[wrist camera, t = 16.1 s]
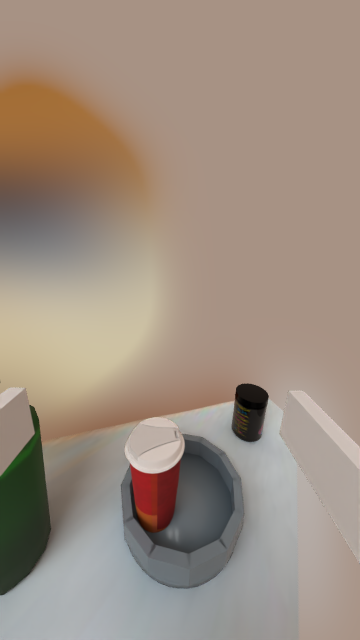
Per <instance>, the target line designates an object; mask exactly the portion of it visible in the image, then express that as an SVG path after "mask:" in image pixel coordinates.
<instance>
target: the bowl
mask: <svg viewBox="0 0 360 640" xmlns="http://www.w3.org/2000/svg"><path fill="white" fill-rule="evenodd" d="M182 436H183V438H184V443H185V447H184V453H183V455H182V457H181V462H180V471H179V482H178V488H177V495H176V503H175V510H174V515H173V518H172V520H171V522H170V524H169V525H168V526H167V527H166V528H165V529H164V530H162V531H160V532H157V533H151V532H148V531H146V530H145V529H144V528H143V527H142V526H141V525H140V523H139V520H138V517H137V512H136V505H135V498H134V491H133V483H132V476H131V468H130V466H129V468H128V471H127V473H126V475H125V478H124V480H123V482H122V484H121V493H122V508H123V522H124V535H125V540H126V542H127V544H128V546H129V549H130V551H131V553H132V555H133V557H134V559H135V560H136V562H137V563H138V565H139V566H140V567H141V568H142V570H143V571H144V572H145V573H146V574H148V575H149V576H150V577H151V578H153V579H154V580H156V581H157V582H159V583H161V584H163V585H166V586H168V587H173V588H192V587H197V586H200V585H202V584H204V583H207V582H208V581H210V580H211V579H213V578H214V577H215V576H216V575H217V574H218V573H219V572H220V571H221V570H222V569H223V568H224V567H225V566H226V564H227V563H228V561H229V559H230V557H231V555H232V553H233V551H234V548H235V545H236V542H237V539H238V536H239V534H240V532H241V529H242V523H243V518H244V507H243V497H242V488H241V478H240V477H239V475H238V473H237V472H236V470H235V469H234V467H233V465H232V464H231V462H230V460H229V459H228V457H227V456H226V454H225V452H223V451H222V450H220V449H219V448H217V447H216V446H214V445H213V444H211V443H210V442H209V441H207V440H206V439H204V438H203V437H198V436H192V435H187V434H182Z"/></svg>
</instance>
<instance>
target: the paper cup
mask: <svg viewBox="0 0 360 640" xmlns="http://www.w3.org/2000/svg"><path fill="white" fill-rule="evenodd" d="M184 447H185V443H184V438H183V436H182V434H181V432H180V431H179V428H178V426H177V425H176V424H175V423H174V422H172V421H171V420H169V419H166V418H162V417H153V418H149V419H146V420H143V421H142V422H140V423H139V424H138V425H137V426H136V427H135V428H134V429H133V431H132V433H131V434H130V436H129V437H128V440H127V442H126V443H125V456H126V458H127V459H128V461H129V462H130V468H131V476H132V483H133V491H134V498H135V505H136V512H137V517H138V520H139V523H140V525H141V526H142V527H143V528H144V529H145V530H146V531H148V532H151V533H157V532H160V531H162V530H164V529H165V528H166V527H167V526H168V525H169V524H170V522H171V520H172V518H173V515H174V510H175V503H176V495H177V488H178V482H179V471H180V462H181V457H182V455H183V453H184Z"/></svg>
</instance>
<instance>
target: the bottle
mask: <svg viewBox="0 0 360 640" xmlns="http://www.w3.org/2000/svg"><path fill="white" fill-rule="evenodd" d="M29 407H30V412H31V417H32V422H33V427H34V432H35V434H34V435H33V436H32V437H31V439H30V440H29V441H28V442H27V444H26V445H25V446H24V447H23V449H22V450H21V451H20V452H19V454H18V455H17V456H16V457H15V459H14V460H13V461H12V462H11V464H10V465H9V466H8V467H7V469H6V470H5V471H4V472H3V474H2V475H1V476H0V595H3V594H5V593H6V592H7V591H9V590H10V589H11V588H12V587H13V586H15V585H16V584H17V583H18V582H19V581H21V580H22V579H23V578H24V577H25V576H27V575H28V574H29V572H30V571H31V569H32V568H33V566H34V565H35V564H36V562H37V561H38V559H39V558H40V556H41V555H42V553H43V552H44V550H45V548H46V544H47V540H48V537H49V533H50V530H51V526H50V517H49V508H48V498H47V489H46V480H45V471H44V462H43V453H42V444H41V435H40V425H39V419H38V416H37V413H36V411H35V408H34V407H33V406H31V405H29Z"/></svg>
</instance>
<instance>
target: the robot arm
mask: <svg viewBox="0 0 360 640" xmlns="http://www.w3.org/2000/svg"><path fill="white" fill-rule="evenodd" d="M34 434H35V432H34V427H33V422H32V417H31V412H30V407H29V403H28V398H27V393H26V388H8V389H7V390H6V391H4V392H3V393H2V394H0V476H1V475H2V474H3V472H4V471H5V470H6V469H7V467H8V466H9V465H10V464H11V462H12V461H13V460H14V459H15V457H16V456H17V455H18V454H19V452H20V451H21V450H22V449H23V447H24V446H25V445H26V444H27V442H28V441H29V440H30V439H31V437H32V436H33V435H34ZM279 434H280V435H281V437H282V439H283V440H284V442H285V444H286V445H287V447H288V448H289V450H290V452H291V453H292V455H293V457H294V458H295V460H296V461H297V463H298V465H299V466H300V468H301V470H302V471H303V473H304V474H305V476H306V478H307V479H308V481H309V482H310V484H311V486H312V487H313V489H314V491H315V492H316V494H317V496H318V497H319V499H320V500H321V502H322V504H323V505H324V507H325V508H326V510H327V511H328V513H329V515H330V517H331V518H332V520H333V522H334V523H335V525H336V526H337V528H338V530H339V531H340V533H341V534H342V536H343V537H344V539H345V541H346V543H347V544H348V546H349V547H350V549H351V551H352V552H353V554H354V556H355V557H356V559H357V561H358V562H359V564H360V447H359V446H358V445H357V444H356V443H355V442H354V441H353V440H352V439H351V438H350V437H349V436H348V435H347V434H346V433H345V432H344V431H343V430H342V429H341V428H340V427H339V426H338V425H337V424H336V423H335V422H334V421H333V420H332V419H331V418H330V417H329V416H328V415H327V414H326V413H325V412H324V411H323V410H322V409H321V408H320V407H319V406H318V405H317V404H316V403H315V402H314V401H313V400H312V399H311V398H310V397H309V396H308V395H307V394H306V393H305V392H304V391H288V396H287V401H286V405H285V410H284V414H283V419H282V424H281V428H280V433H279Z"/></svg>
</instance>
